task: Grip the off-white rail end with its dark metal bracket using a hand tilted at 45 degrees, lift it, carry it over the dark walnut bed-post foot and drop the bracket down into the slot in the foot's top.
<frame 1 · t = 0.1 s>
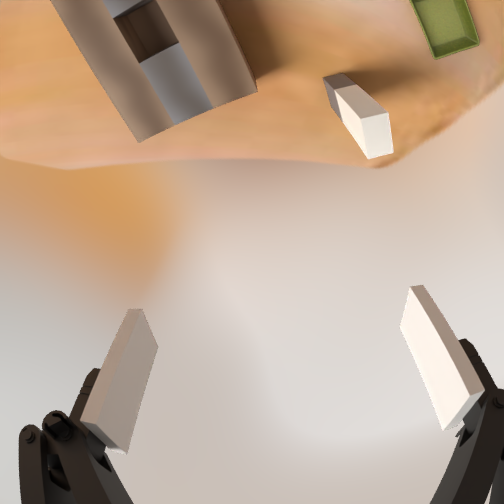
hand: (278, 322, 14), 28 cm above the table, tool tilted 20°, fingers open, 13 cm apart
olive green shallow tray: (438, 19, 22), on the table
rail end: (336, 89, 31), on the table
post foot: (158, 25, 24), on the table
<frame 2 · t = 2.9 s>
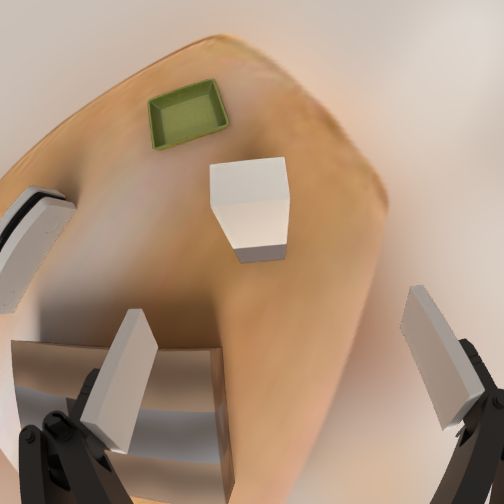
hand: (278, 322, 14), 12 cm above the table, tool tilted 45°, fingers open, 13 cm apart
olive green shallow tray: (189, 121, 33), on the table
rail end: (261, 248, 28), on the table
post foot: (120, 414, 25), on the table
grey curved slotted block: (39, 258, 30), on the table
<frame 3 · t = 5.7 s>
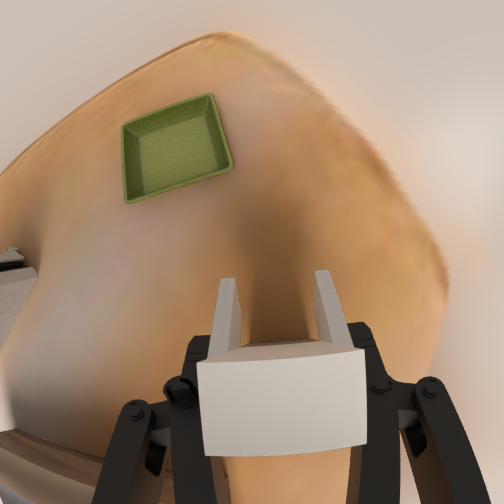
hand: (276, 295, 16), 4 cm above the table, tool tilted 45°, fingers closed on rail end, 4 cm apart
olive green shallow tray: (177, 156, 24), on the table
rail end: (281, 360, 19), on the table, touching gripper
grey curved slotted block: (3, 332, 21), on the table
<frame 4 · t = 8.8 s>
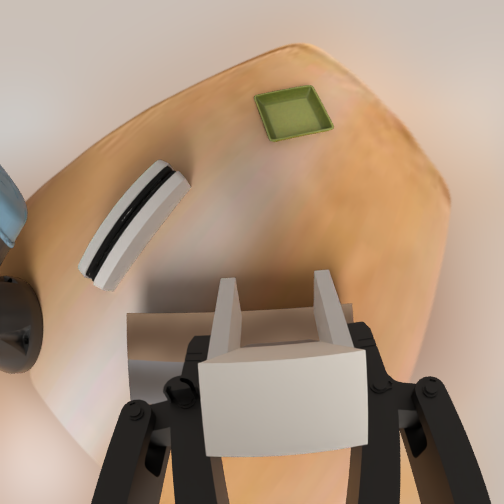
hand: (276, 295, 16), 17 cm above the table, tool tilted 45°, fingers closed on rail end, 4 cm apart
olive green shallow tray: (292, 120, 39), on the table
rail end: (281, 360, 19), point 13 cm above the table, touching gripper
post foot: (243, 377, 30), on the table
grey curved slotted block: (145, 234, 36), on the table
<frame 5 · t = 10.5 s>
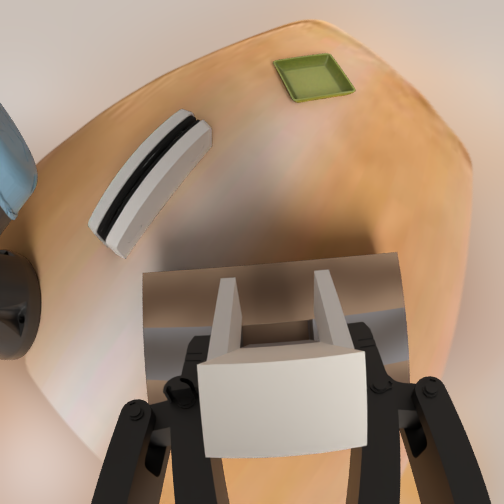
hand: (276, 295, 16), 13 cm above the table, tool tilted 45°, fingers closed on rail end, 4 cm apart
olive green shallow tray: (312, 85, 36), on the table
rail end: (281, 360, 19), point 9 cm above the table, touching gripper
post foot: (276, 347, 27), on the table
grey curved slotted block: (162, 196, 33), on the table
when the fingers open (8 cm above the table, at t = 11.9 s): rail end drops 2 cm, resting on post foot.
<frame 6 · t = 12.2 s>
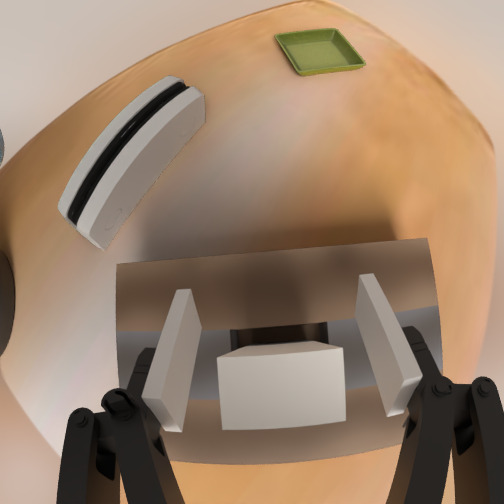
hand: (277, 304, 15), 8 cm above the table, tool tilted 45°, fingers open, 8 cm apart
olive green shallow tray: (317, 60, 31), on the table
rail end: (280, 357, 21), point 1 cm above the table, touching post foot
post foot: (280, 355, 22), on the table
grey curved slotted block: (148, 178, 28), on the table
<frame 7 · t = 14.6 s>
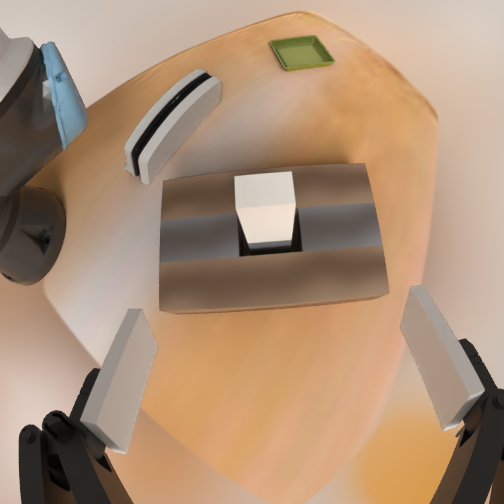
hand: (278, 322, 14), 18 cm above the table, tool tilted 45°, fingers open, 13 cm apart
olive green shallow tray: (300, 59, 42), on the table
rail end: (270, 244, 33), point 1 cm above the table, touching post foot
post foot: (270, 246, 34), on the table
grey curved slotted block: (180, 138, 39), on the table
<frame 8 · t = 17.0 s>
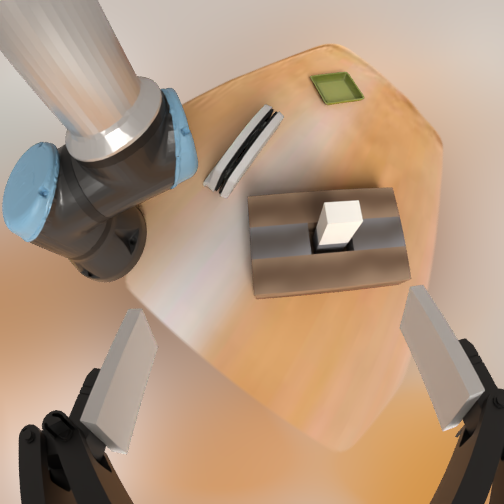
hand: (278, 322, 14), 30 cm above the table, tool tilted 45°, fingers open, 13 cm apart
olive green shallow tray: (335, 93, 54), on the table
rail end: (326, 245, 44), point 1 cm above the table, touching post foot
post foot: (325, 246, 45), on the table
grey curved slotted block: (247, 159, 51), on the table
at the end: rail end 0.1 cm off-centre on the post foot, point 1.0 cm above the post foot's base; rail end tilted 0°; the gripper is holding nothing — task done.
